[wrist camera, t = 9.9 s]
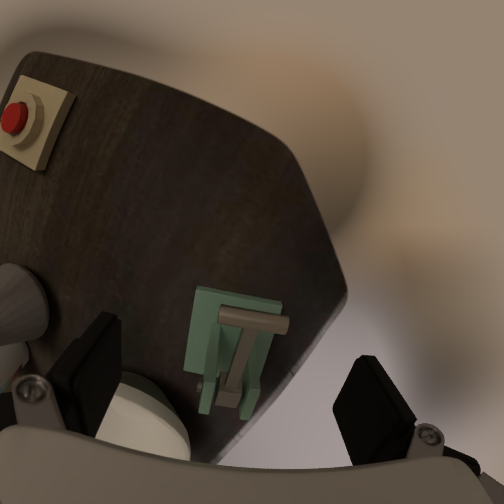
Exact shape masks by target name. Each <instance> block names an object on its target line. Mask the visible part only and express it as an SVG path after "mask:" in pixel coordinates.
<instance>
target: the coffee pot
mask: <svg viewBox="0 0 504 504" xmlns="http://www.w3.org/2000/svg"><path fill="white" fill-rule="evenodd" d="M48 321H49V305H48V301H47V297H46V294H45V291H44V289H43V287H42V285H41V283H40V282H39V281H38V279H37V278H36V277H35V276H34V275H33V274H32V273H31V272H30V271H28V270H27V269H26V268H25V267H23V266H20V265H18V264H11V263H6V264H4V265H1V266H0V346H4V345H9V344H14V343H19V342H24V341H29V340H34V339H38V338H39V337H41V336H42V335H43V334H44V332H45V331H46V329H47V326H48Z"/></svg>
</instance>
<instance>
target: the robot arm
mask: <svg viewBox="0 0 504 504" xmlns="http://www.w3.org/2000/svg"><path fill="white" fill-rule="evenodd" d="M121 377H122V359H121V320H119V319H117V315H115V314H111V313H108V312H104V311H102V312H101V313H100V314H99V315H98V317H97V318H96V319H95V320H94V321H93V323H92V324H91V325H90V326H89V327H88V329H87V330H86V331H85V332H84V334H83V335H82V336H81V337H80V338H76V339H74V340H73V342H72V343H71V344H70V345H69V346H68V348H67V349H66V350H65V351H64V353H63V354H62V355H61V356H60V358H59V359H58V360H57V361H56V363H55V364H54V365H53V366H52V368H51V369H50V370H49V372H48V373H47V374H46V376H45V377H43V376H41V375H38V374H25V375H22V376H20V377H18V378H17V379H16V380H15V381H14V383H13V385H12V392H7V393H1V394H0V504H504V486H503V485H502V484H500V483H499V482H497V481H496V480H494V479H493V478H492V477H490V476H489V475H487V474H486V473H484V472H483V473H482V474H480V472H481V469H480V465H479V464H478V462H477V460H475V459H474V458H472V457H470V456H468V455H465V454H463V453H461V452H458V451H456V450H454V449H451V448H449V447H447V446H444V436H443V433H442V432H441V431H440V430H439V429H438V428H437V427H435V426H433V425H431V424H427V423H423V424H419V425H418V426H415V425H414V423H415V422H416V420H417V418H416V417H415V415H414V414H413V412H412V410H411V409H410V408H409V406H408V404H407V403H406V402H405V400H404V398H403V397H402V395H401V394H400V392H399V391H398V389H397V388H396V386H395V385H394V383H393V382H392V380H391V379H390V377H389V376H388V374H387V373H386V371H385V370H384V368H383V367H382V365H381V364H380V363H379V361H378V360H377V358H376V357H375V356H369V355H362V356H360V357H359V358H357V359H356V360H355V362H354V364H353V366H352V369H351V371H350V373H349V375H348V377H347V379H346V381H345V383H344V385H343V387H342V389H341V391H340V393H339V395H338V397H337V399H336V400H335V402H334V404H333V413H334V416H335V419H336V421H337V424H338V427H339V429H340V432H341V435H342V437H343V440H344V443H345V446H346V448H347V451H348V454H349V456H350V459H351V462H352V465H353V466H346V467H334V468H319V469H260V468H243V467H232V466H222V465H214V464H206V463H199V462H192V461H186V460H181V459H175V458H170V457H165V456H161V455H156V454H152V453H148V452H143V451H139V450H135V449H131V448H127V447H124V446H120V445H116V444H113V443H110V442H106V441H103V440H100V439H96V438H95V437H96V434H97V432H98V430H99V427H100V425H101V423H102V421H103V418H104V416H105V414H106V412H107V409H108V407H109V405H110V403H111V401H112V398H113V396H114V394H115V392H116V390H117V388H118V386H119V383H120V381H121Z"/></svg>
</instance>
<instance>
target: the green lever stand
mask: <svg viewBox="0 0 504 504" xmlns="http://www.w3.org/2000/svg"><path fill="white" fill-rule="evenodd" d="M221 304H225V305H230V306H235V307H241V308H246V309H252V310H257V311H263V312H268V313H274V314H280V313H281V310H282V307H283V305H282V302H280V301H275V300H269V299H264V298H259V297H253V296H248V295H243V294H238V293H233V292H228V291H223V290H218V289H213V288H208V287H203V286H197V288H196V293H195V299H194V305H193V311H192V317H191V323H190V329H189V336H188V342H187V349H186V356H185V363H184V371H189V372H194V373H199V374H203V379H201V378H199V379H198V385H197V392H200V393H201V396H200V404H199V413H201V414H207V415H208V414H209V411H210V407H211V402H212V398H213V393H214V389H215V385H216V377H219V375H220V372H221V371H222V372H228V369H229V366H230V363H231V360H232V357H233V354H234V350H235V347H236V344H237V341H238V338H239V335H240V331H241V328H239V327H234V326H228V325H223V324H218V323H217V319H218V313H219V308H220V305H221ZM273 336H274V333H269V332H263V331H258V334H257V337H256V339H255V342H254V345H253V347H252V350H251V352H250V355H249V358H248V360H247V363H246V365H245V368H244V371H243V373H242V375H243V390H242V397H241V399H240V401H239V412H240V419H241V420H250V418H251V416H252V413H253V410H254V407H255V405H256V402H257V401H259V399H260V394H261V388H260V380H259V379H260V376H261V373H262V370H263V367H264V364H265V361H266V358H267V355H268V351H269V348H270V345H271V342H272V339H273Z"/></svg>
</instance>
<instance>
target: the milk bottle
mask: <svg viewBox="0 0 504 504" xmlns="http://www.w3.org/2000/svg"><path fill="white" fill-rule="evenodd" d="M28 360H29V350H28V347H27V344H26V342H25V341H24V342H19V343H14V344H9V345H4V346H0V394H1V393H2V391H3V390H4V389H5V388H6V387H7V385H8V384H9V383H10V382H11V381H12V380H13V378H14V377H15V376H16V375H17V374H18V372H19V371H20V370H21V369H22V368H23V367H24V365H25V364H26V363H27V362H28Z"/></svg>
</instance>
